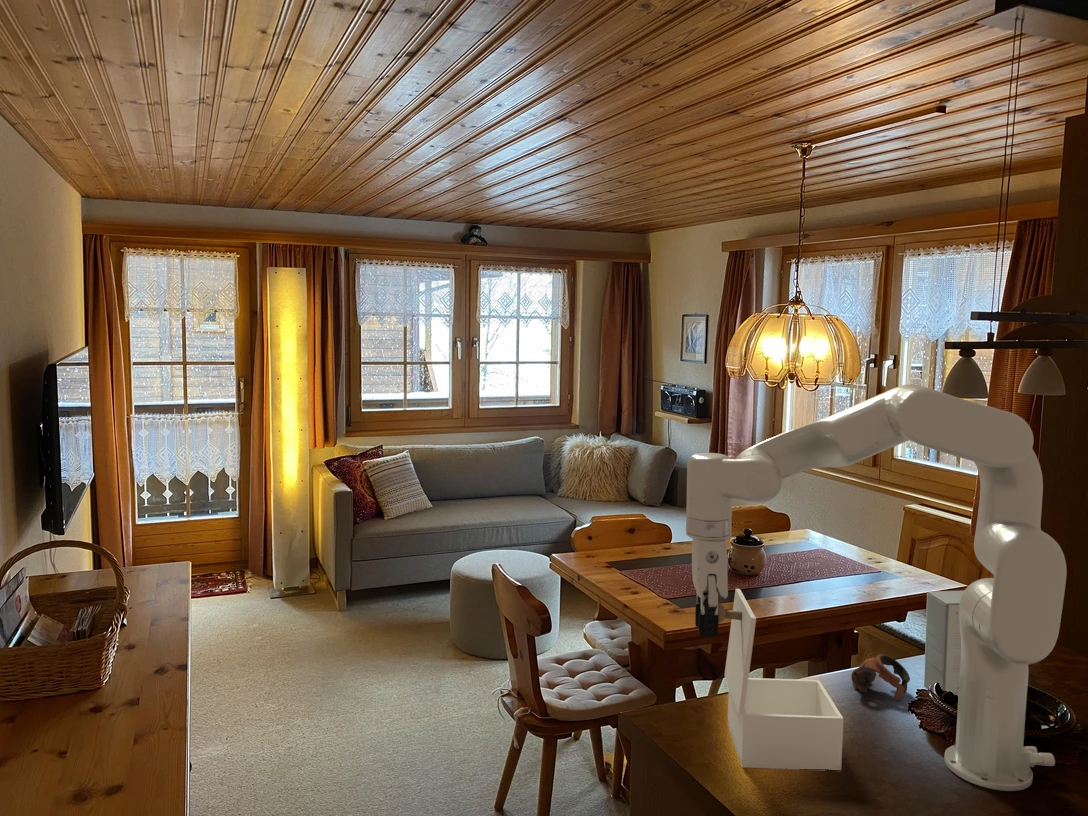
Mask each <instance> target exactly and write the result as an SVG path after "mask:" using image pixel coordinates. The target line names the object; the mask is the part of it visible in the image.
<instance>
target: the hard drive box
mask: <svg viewBox="0 0 1088 816" xmlns="http://www.w3.org/2000/svg"><path fill="white" fill-rule="evenodd" d="M964 591H965V589H964V590H940V591H939V590H936V591H933V590H931V591H927V592H926V615H925V616H926V618H925V619H926V621H925V641H924V642H925V646H924V647H925V649H924V650H925V651H924V674H923V675H924V677H923V687H925V688H926V689H927V688H929V686H930V685H932V684H933V683H939V685H940V687H941V689H942V690H943V691H947V692H949V691H950V692H952V693H953V694H954V695H957V696H959V678H960V665H961V633H960V622H959V604H960V600H961V597H962V594H963V592H964Z"/></svg>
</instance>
